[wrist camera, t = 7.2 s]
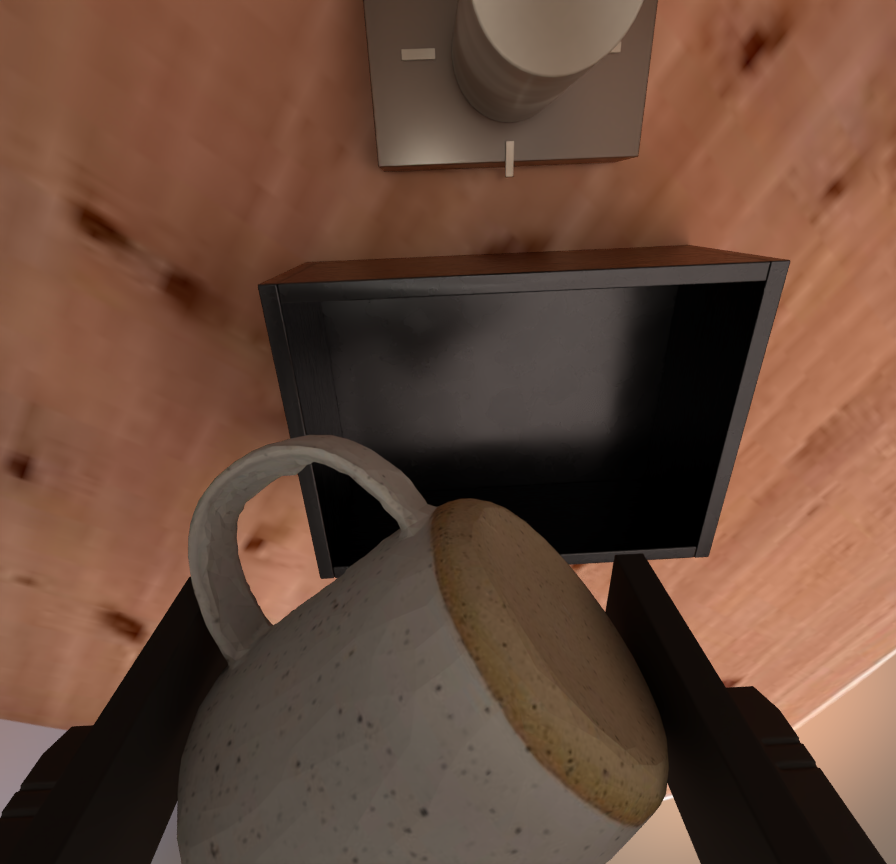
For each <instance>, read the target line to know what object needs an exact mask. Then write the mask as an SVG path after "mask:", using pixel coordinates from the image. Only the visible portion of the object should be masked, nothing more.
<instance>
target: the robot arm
mask: <svg viewBox="0 0 896 864" xmlns="http://www.w3.org/2000/svg"><path fill="white" fill-rule="evenodd" d="M605 613H606V614H607V616H608V617H609V619H610V620H611V622H612V623H613V625H614V626H615V628H616V629H617V631H618V633H619V634H620V636H621V637H622V639H623V641H624V642H625V644H626V646H627V647H628V649H629V651H630V652H631V654H632V656H633V657H634V659H635V661H636V663H637V665H638V667H639V669H640V671H641V673H642V675H643V677H644V679H645V681H646V683H647V685H648V687H649V689H650V692H651V694H652V696H653V699H654V701H655V703H656V706H657V708H658V710H659V713H660V716H661V719H662V723H663V727H664V730H665V734H666V738H667V749H668V762H669V772H668V780H667V783H668V785H669V788H670V790H671V793H672V795H673V797H674V800H675V802H676V805H677V807H678V809H679V812H680V814H681V817H682V819H683V822H684V824H685V826H686V829H687V831H688V833H689V836H690V838H691V841H692V843H693V846H694V848H695V851H696V853H697V856H698V858H699V860H700V863H701V864H886V862H885V861H884V859H883V858H882V857H881V855H880V854H879V852H878V851H877V849H876V848H875V846H874V845H873V844H872V842H871V841H870V839H869V838H868V836H867V835H866V834H865V832H864V831H863V829H862V828H861V826H860V825H859V824H858V822H857V821H856V819H855V818H854V816H853V815H852V814H851V812H850V811H849V809H848V808H847V806H846V805H845V803H844V802H843V800H842V799H841V798H840V796H839V795H838V793H837V792H836V791H835V789H834V788H833V786H832V785H831V783H830V782H829V780H828V779H827V778H826V776H825V775H824V773H823V772H822V770H821V769H820V768H818V767H817V766H816V762H815V760H814V759H813V757H812V756H811V754H810V753H809V752H808V750H807V749H806V748H805V746H804V744H801V743H800V741H799V737H798V736H797V734H796V733H795V731H794V730H793V729H792V727H791V726H790V724H789V723H788V721H787V720H786V719H785V717H784V716H783V714H782V713H781V711H780V710H779V709H778V708H777V707H776V706H775V705H774V704H772V703H771V702H770V701H769V700H768V699H767V698H766V697H765V696H763V695H762V694H761V693H760V692H759V691H758V690H757V689H756V688H754V687H753V686H749V687H731V688H726V687H725V686H724V684H723V682H722V681H721V679H720V678H719V676H718V674H717V673H716V671H715V669H714V668H713V666H712V665H711V663H710V661H709V660H708V658H707V656H706V655H705V653H704V652H703V650H702V648H701V647H700V645H699V643H698V642H697V640H696V639H695V637H694V635H693V634H692V632H691V630H690V629H689V627H688V626H687V624H686V622H685V621H684V619H683V618H682V616H681V614H680V613H679V611H678V609H677V608H676V606H675V605H674V603H673V601H672V600H671V598H670V596H669V595H668V593H667V592H666V590H665V588H664V587H663V585H662V583H661V582H660V580H659V579H658V577H657V575H656V574H655V572H654V570H653V569H652V567H651V566H650V564H649V562H648V561H647V559H646V557H645V556H644V554H643V553H639V554H620V555H615V557H614V563H613V569H612V575H611V581H610V588H609V594H608V600H607V606H606V612H605ZM227 666H228V662H227V660H226V659H225V657H224V656H223V654H222V652H221V651H220V649H219V647H218V645H217V644H216V642H215V640H214V639H213V637H212V635H211V634H210V632H209V630H208V628H207V626H206V624H205V621H204V619H203V616H202V613H201V610H200V607H199V604H198V601H197V599H196V596H195V593H194V589H193V585H192V579H191V577H189V578H188V580H187V582H186V583H185V585H184V586H183V588H182V589H181V591H180V592H179V594H178V595H177V597H176V599H175V600H174V602H173V603H172V605H171V606H170V608H169V609H168V611H167V612H166V614H165V616H164V617H163V619H162V620H161V622H160V623H159V625H158V626H157V628H156V629H155V631H154V633H153V634H152V636H151V637H150V639H149V640H148V642H147V643H146V645H145V646H144V648H143V650H142V651H141V653H140V654H139V656H138V657H137V659H136V660H135V662H134V663H133V665H132V667H131V668H130V670H129V671H128V673H127V674H126V676H125V677H124V679H123V680H122V682H121V684H120V685H119V687H118V688H117V690H116V691H115V693H114V694H113V696H112V697H111V699H110V701H109V702H108V704H107V705H106V707H105V708H104V710H103V711H102V713H101V714H100V716H99V718H98V719H97V721H96V722H95V724H94V725H91V726H74V727H71V728H70V729H69V730H68V731H67V732H66V733H65V734H64V735H63V736H61V738H59V739H58V740H57V741H56V742H55V743H54V744H53V745H52V746H51V747H50V748H49V749H48V750H47V751H46V752H44V753H43V755H42V756H41V757H40V759H39V760H38V762H37V763H36V764H35V766H34V767H33V769H32V770H31V772H30V773H29V775H28V776H27V777H26V779H25V780H24V782H23V783H22V784H21V789H20V791H18V792H16V793H15V794H14V796H13V797H12V798H11V800H10V801H9V803H8V804H7V806H6V807H5V808H4V810H3V811H2V816H1V818H0V864H151V862H152V859H153V857H154V855H155V852H156V850H157V848H158V845H159V843H160V841H161V838H162V835H163V833H164V831H165V829H166V826H167V824H168V821H169V819H170V817H171V815H172V812H173V810H174V807H175V805H176V803H177V800H178V783H179V772H180V765H181V758H182V755H183V751H184V748H185V745H186V742H187V739H188V736H189V733H190V730H191V727H192V725H193V722H194V719H195V716H196V714H197V711H198V709H199V706H200V705H201V703H202V702H203V701H204V699H205V697H206V696H207V694H208V693H209V691H210V689H211V688H212V686H213V685H214V683H215V682H216V680H217V679H218V677H219V676H220V675H221V673H222V672H223V670H224V669H225V668H226V667H227Z"/></svg>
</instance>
